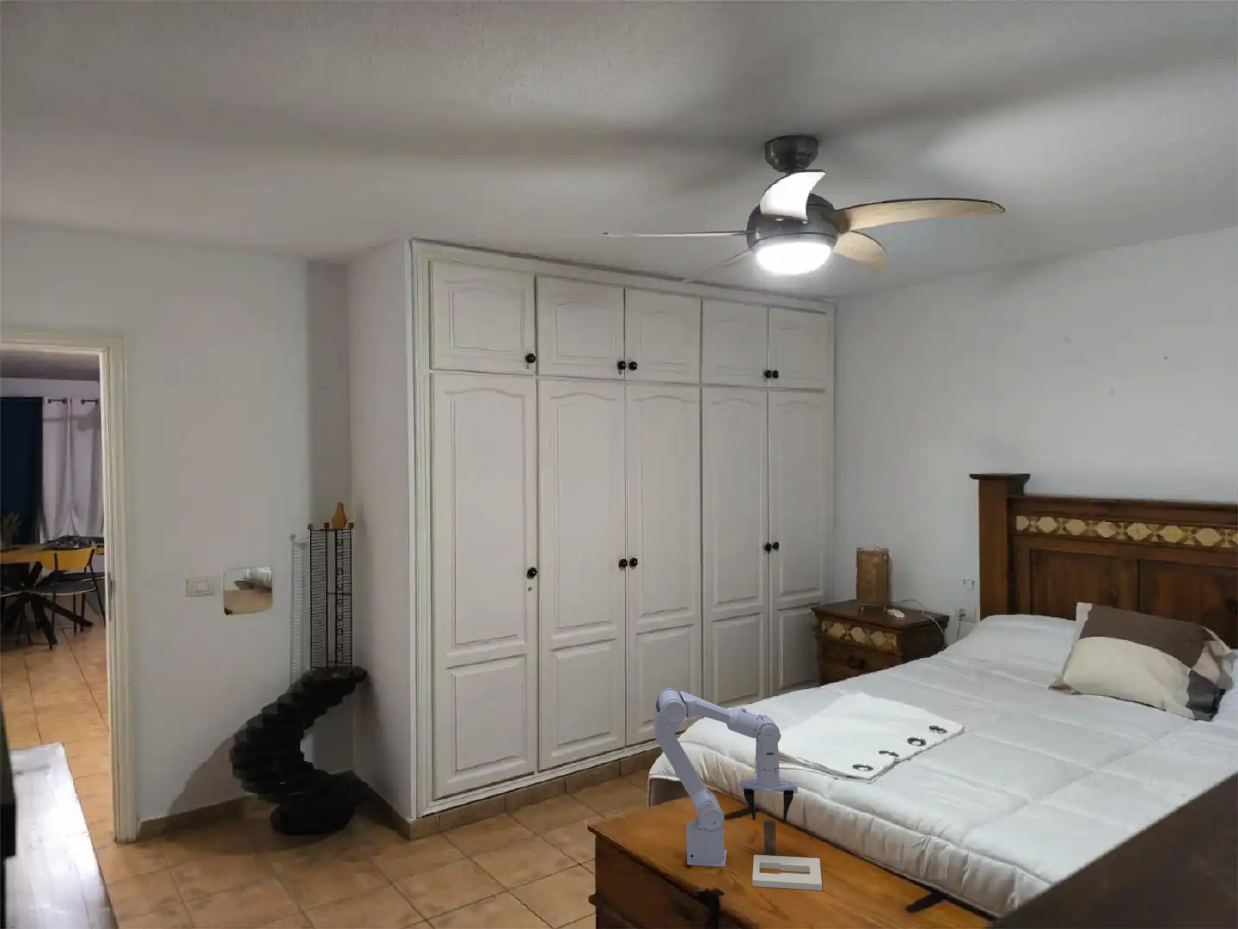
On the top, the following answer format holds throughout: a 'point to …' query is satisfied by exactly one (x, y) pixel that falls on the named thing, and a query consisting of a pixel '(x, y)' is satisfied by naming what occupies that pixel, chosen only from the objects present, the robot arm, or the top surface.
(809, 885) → the keyhole plate
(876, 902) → the top surface
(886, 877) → the top surface
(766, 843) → the peg
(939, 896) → the top surface
